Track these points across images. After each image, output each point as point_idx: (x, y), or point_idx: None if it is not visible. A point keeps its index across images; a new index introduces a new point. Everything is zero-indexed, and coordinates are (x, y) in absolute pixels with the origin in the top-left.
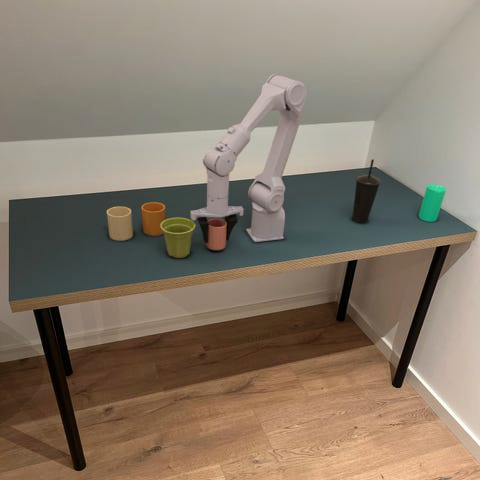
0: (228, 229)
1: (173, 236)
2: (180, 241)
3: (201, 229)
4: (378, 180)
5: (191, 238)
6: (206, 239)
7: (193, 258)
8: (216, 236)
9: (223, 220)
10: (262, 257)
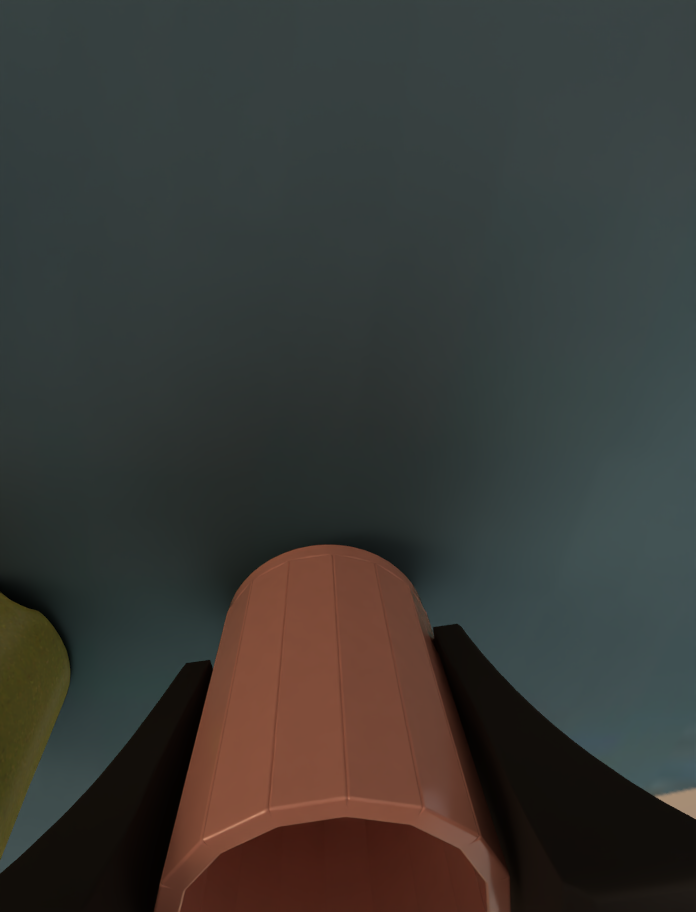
0: None
1: None
2: None
3: (109, 775)
4: None
5: (5, 828)
6: None
7: (114, 729)
8: (313, 860)
9: (477, 858)
10: (673, 729)
